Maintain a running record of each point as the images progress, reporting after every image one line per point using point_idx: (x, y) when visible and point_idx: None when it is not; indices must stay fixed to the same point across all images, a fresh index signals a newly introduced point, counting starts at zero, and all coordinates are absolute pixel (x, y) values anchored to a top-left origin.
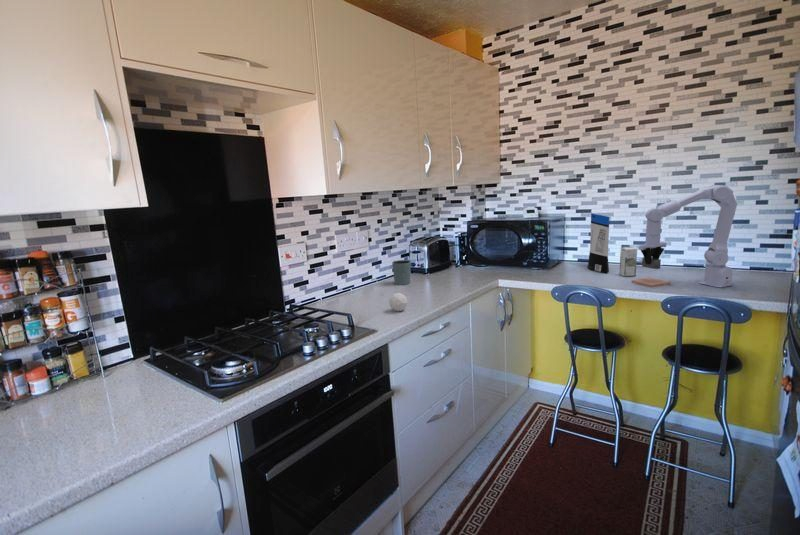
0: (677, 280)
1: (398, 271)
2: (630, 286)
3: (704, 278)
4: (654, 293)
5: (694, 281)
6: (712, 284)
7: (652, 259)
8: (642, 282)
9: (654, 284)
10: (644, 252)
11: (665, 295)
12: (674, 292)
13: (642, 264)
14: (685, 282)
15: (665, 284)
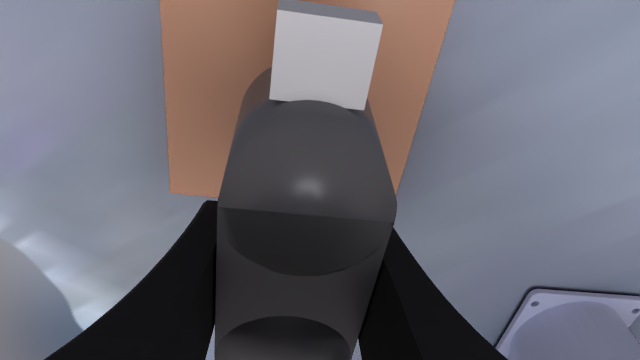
0: (561, 168)
1: None
2: (17, 57)
3: (555, 338)
4: (53, 278)
5: (590, 246)
6: (510, 350)
7: (251, 330)
8: (179, 91)
9: (208, 194)
10: None
11: (84, 326)
12: None
13: (240, 109)
14: (519, 230)
15: None
